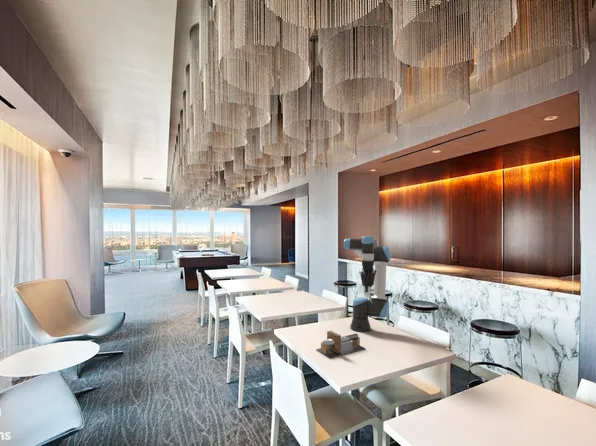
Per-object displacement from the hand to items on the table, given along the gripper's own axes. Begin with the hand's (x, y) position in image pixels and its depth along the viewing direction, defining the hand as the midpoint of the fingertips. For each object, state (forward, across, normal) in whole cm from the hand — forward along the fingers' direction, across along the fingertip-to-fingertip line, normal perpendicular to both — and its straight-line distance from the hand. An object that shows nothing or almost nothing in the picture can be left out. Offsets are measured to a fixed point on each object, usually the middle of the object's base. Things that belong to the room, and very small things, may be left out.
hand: (368, 297), depth 187 cm
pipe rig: (+32, +17, -6) cm, 37 cm away
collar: (+31, +23, -6) cm, 39 cm away
